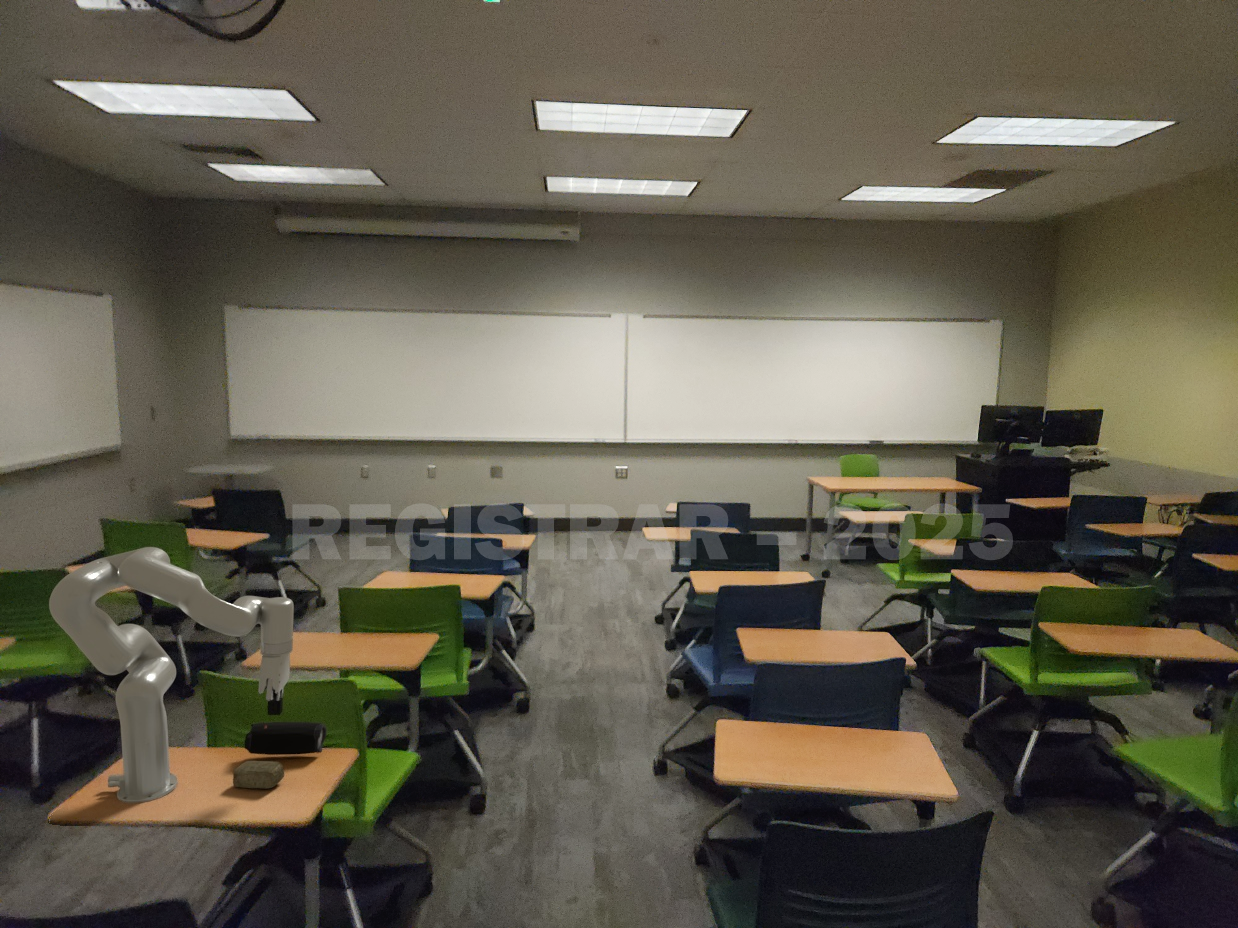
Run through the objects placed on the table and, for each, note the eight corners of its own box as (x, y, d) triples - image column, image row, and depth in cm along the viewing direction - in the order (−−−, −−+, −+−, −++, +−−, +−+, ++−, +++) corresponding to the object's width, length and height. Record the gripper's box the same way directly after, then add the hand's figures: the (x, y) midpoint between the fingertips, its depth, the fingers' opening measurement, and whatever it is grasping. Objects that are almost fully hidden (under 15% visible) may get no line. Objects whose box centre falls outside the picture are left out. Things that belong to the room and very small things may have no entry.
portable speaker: (243, 730, 189) (318, 729, 192) (256, 716, 198) (327, 716, 201) (242, 761, 189) (317, 760, 192) (255, 745, 199) (326, 744, 201)
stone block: (273, 790, 176) (270, 772, 175) (231, 789, 178) (229, 771, 177) (286, 777, 182) (284, 759, 181) (246, 776, 183) (243, 758, 183)
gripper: (271, 635, 186) (269, 700, 188) (250, 656, 172) (249, 727, 173) (300, 635, 188) (298, 700, 189) (282, 657, 173) (280, 727, 175)
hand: (275, 713), depth 181 cm, fingers closed
